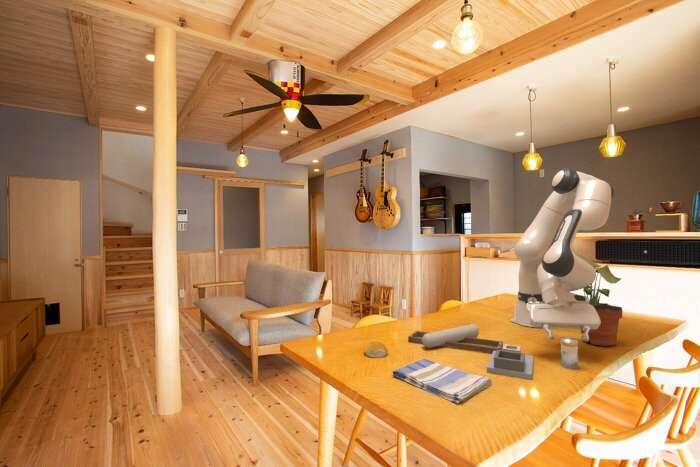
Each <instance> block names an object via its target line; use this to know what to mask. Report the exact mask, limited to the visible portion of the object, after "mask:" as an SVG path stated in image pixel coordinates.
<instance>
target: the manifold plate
mask: <svg viewBox="0 0 700 467" xmlns="http://www.w3.org/2000/svg"><path fill="white" fill-rule="evenodd" d="M521 348H522V346H520V345H514V344H507V343H506V344H505V343H503V348H502V350H497V351H493V353H492V354H491V356H490V359H489V360H488V363H487V365H486V373H489V374H494V375H495V374H496V375H501V376H506V377H507V376H508V377H512V378H513V377H514V378H519V379H520V378H521V379H525V380H531V381H532V379H533V367H534V355H528V354H526V353H525V352H522V349H521Z"/></svg>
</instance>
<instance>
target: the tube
mask: <svg viewBox="0 0 700 467" xmlns="http://www.w3.org/2000/svg"><path fill="white" fill-rule="evenodd" d="M479 330H480V329H479V328H478V326H477V325H476V324H475V323H470V324H466V325H465V324H464V325H461V326H456V327H451V328H446V329H443V330H437V331H433V332H430V333H427V334H425V335H424V336H423V337H421V338H422V343H423V344H422V345H423V347H427V348H428V349H432V348H435V347H441V345H443V344H444V343H445V342H447V341H450V342H457V343H459V342H458V341H462V340H463V339H464V338H466V337H471V338H478V336H479V335H480V331H479Z"/></svg>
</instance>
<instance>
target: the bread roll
mask: <svg viewBox="0 0 700 467" xmlns="http://www.w3.org/2000/svg"><path fill="white" fill-rule="evenodd" d="M363 350H364V352H363V353H364V354H365V355H366V357H369V358H374V359H375V358H376V359H377V358H378V359H379V358H384V357H386V356H387V355H388V353H389V349H388V348H387V347H386V346H385V344H384V343H382V342H380V341H372V342H370V343H368V344H366V345H365V347H364V349H363Z"/></svg>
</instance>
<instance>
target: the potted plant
mask: <svg viewBox="0 0 700 467" xmlns="http://www.w3.org/2000/svg"><path fill="white" fill-rule="evenodd" d="M575 254H576V255H577V256H578V257H580V258H581V259H583V260H585V261H586V262H588V263H589V264H590V265H592V266H593V267H594V268H595V270H596V277H595V280H594V286H593V283H592V284H591V285H589V286H588V287H585V288H582V290H583V294H584V295H583V296H586V297H588V298H589V300H590V302H589V304H591V305H592V306H593V307H594V308H595V310H596V311H597V313H598V315H599V318H600V320H601V324H600V326H599V327H598V329H590V330H589V332H588V336H589V340H588V341H584V343H586V344H589V343H590V344H591V345H594V346H604V347H605V346H606V347H610V346H611V347H612V346H615V345H616V344H617V335H618V331H619V329H618V328H619V322H620V319H622V318H623V307H621V306H616V305H612V304H609V303H606V302H605V303H604V302H600V300H601V294H602V295H603V296H606V297H610V289H608V288H601V289H600V284H601V278H603V279H604V280H605V281H606V282H607V283H609V284H617V283H618V282H620V281H621V280H622V278H621V277H617V276H615V275H614V274H613V272H611V270H610V267H609V264H606V265H604V266H603V267H602V266H601V265H599V263H596V262H594V261H592V260H590V259H589V258H587V257H585V256H583V255H580V254H578V253H575ZM599 275H600V277H599V282H598V287H597V289H596V285H597V279H598V276H599ZM599 293H600V294H599ZM580 332H581V334H582V333H585V332H586V331H583V329H580Z"/></svg>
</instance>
